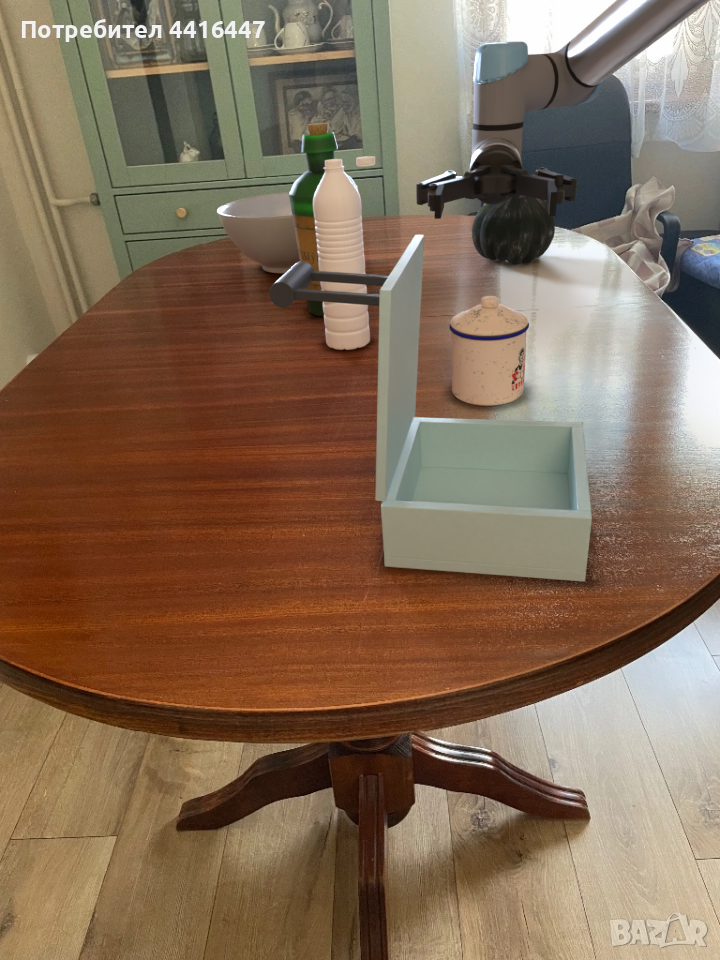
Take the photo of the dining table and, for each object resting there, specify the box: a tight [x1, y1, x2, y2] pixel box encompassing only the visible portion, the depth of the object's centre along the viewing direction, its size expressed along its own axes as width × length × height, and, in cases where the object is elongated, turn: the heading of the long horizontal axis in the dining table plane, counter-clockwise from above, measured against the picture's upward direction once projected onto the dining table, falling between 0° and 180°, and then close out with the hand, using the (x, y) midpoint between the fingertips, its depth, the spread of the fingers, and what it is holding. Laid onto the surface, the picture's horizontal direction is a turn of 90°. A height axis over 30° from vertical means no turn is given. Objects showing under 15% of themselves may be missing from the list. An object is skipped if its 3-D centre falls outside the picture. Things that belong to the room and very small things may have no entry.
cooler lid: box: [268, 234, 425, 502], centre depth 60 cm, size 17×16×10 cm
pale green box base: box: [380, 416, 593, 583], centre depth 64 cm, size 16×16×6 cm
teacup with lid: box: [449, 295, 530, 407], centre depth 87 cm, size 12×9×12 cm
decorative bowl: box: [216, 191, 300, 274], centre depth 145 cm, size 27×27×12 cm
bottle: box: [289, 122, 359, 318], centre depth 113 cm, size 11×11×28 cm
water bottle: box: [313, 155, 376, 351], centre depth 100 cm, size 9×6×25 cm
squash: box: [471, 196, 556, 266], centre depth 136 cm, size 14×15×15 cm
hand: (494, 205), depth 87 cm, fingers open, 13 cm apart
